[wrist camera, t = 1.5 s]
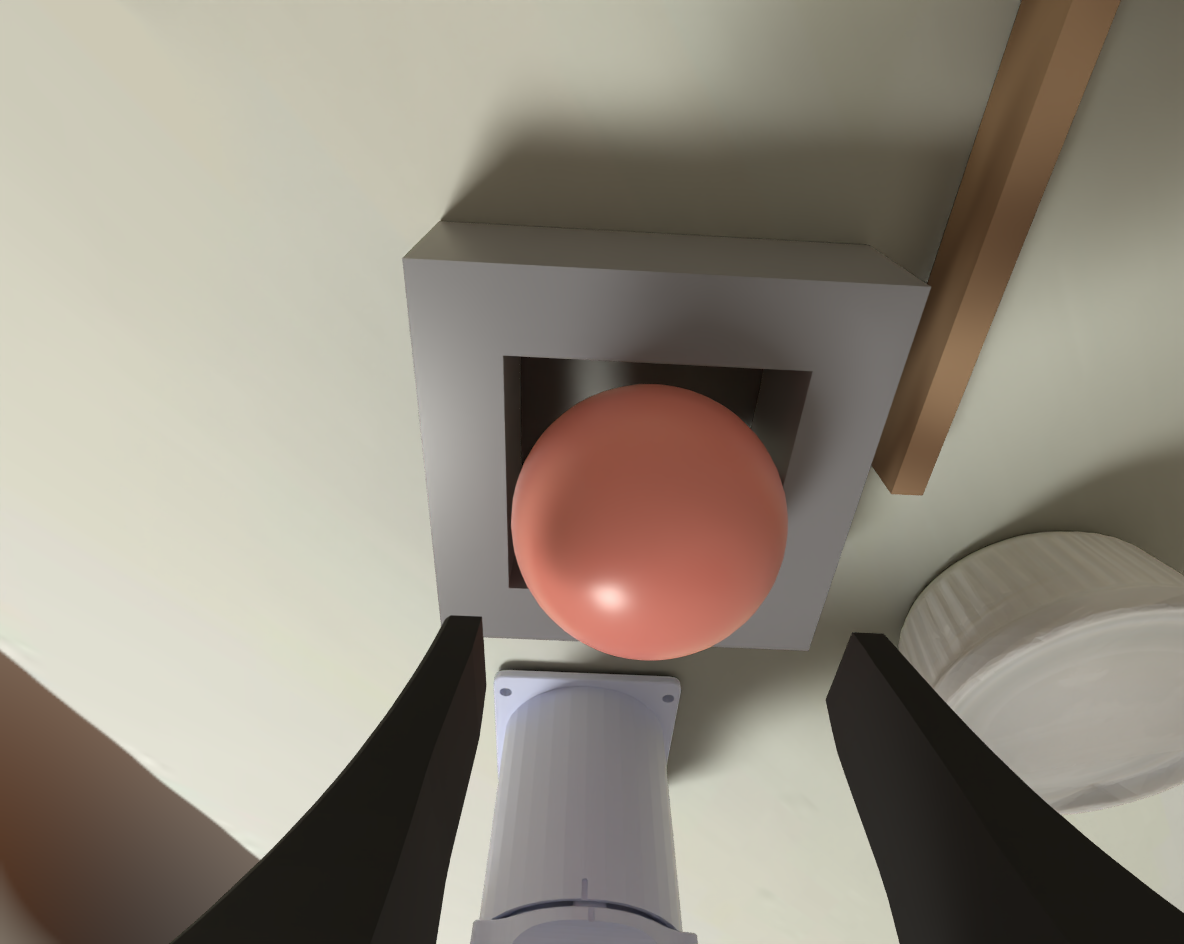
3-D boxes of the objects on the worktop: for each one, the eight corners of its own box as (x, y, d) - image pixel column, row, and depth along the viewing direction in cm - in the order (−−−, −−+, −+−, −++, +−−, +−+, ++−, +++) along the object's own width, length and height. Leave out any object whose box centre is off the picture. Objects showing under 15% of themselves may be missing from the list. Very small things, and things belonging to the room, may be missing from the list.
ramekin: (963, 737, 30) (1027, 854, 26) (815, 622, 26) (860, 737, 22) (1216, 608, 26) (1346, 723, 21) (1084, 446, 22) (1210, 545, 17)
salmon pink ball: (733, 545, 22) (785, 727, 16) (525, 536, 21) (497, 716, 15) (777, 348, 18) (866, 490, 12) (524, 335, 18) (486, 472, 12)
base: (779, 569, 24) (808, 650, 21) (463, 555, 24) (442, 635, 21) (868, 245, 18) (931, 286, 15) (439, 221, 18) (402, 258, 14)
